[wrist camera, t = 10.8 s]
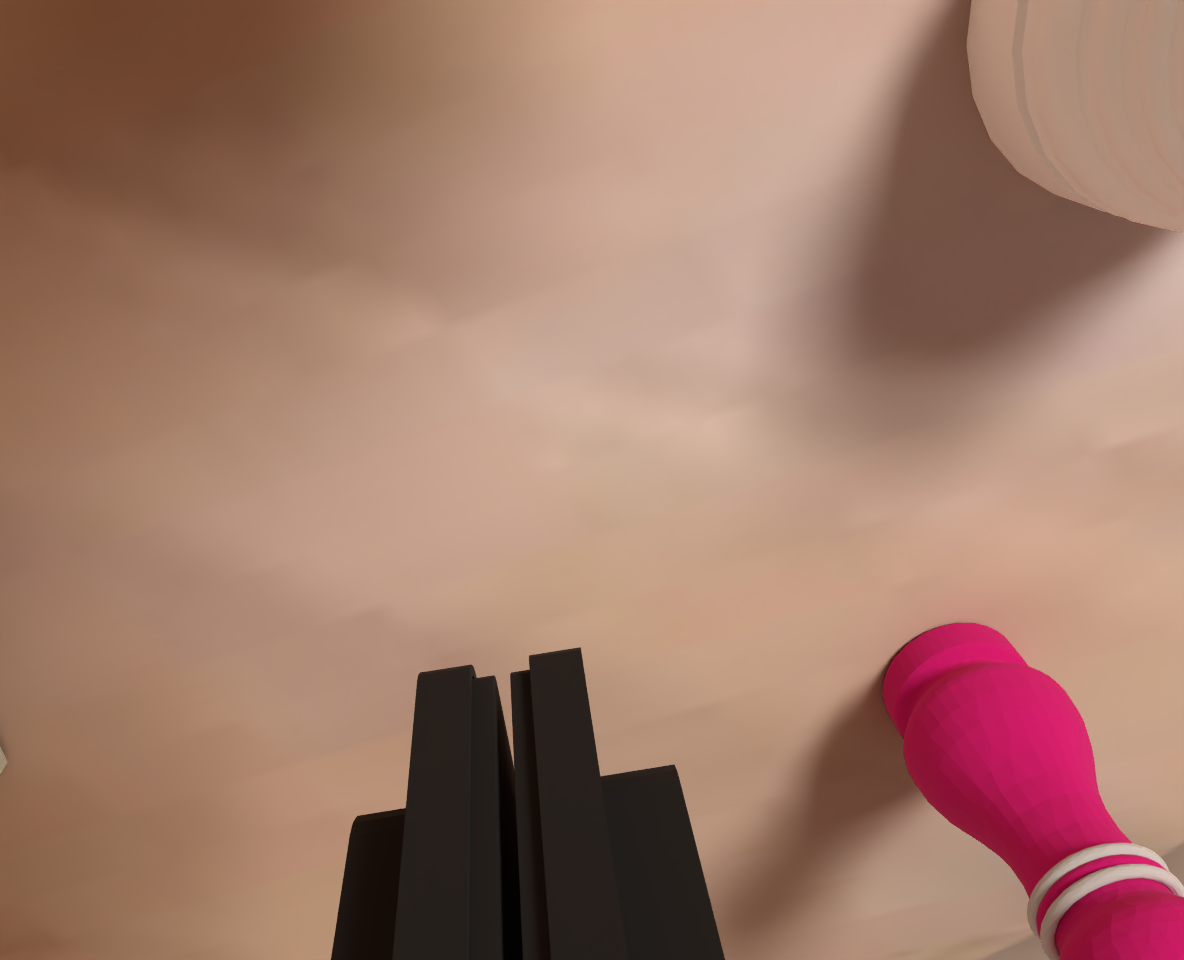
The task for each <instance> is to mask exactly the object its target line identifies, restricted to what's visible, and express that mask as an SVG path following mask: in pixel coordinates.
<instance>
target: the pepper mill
mask: <svg viewBox="0 0 1184 960" xmlns="http://www.w3.org/2000/svg"><path fill="white" fill-rule="evenodd" d="M883 700H884V704H885V707H886V709H887V712H888V714H889V716H890V717H891V719H892V721H893V722H894V724H895V726H896V728H897V729H898V731H899V733H900V735H901V736H902V737H903V739H904V758H905V763H906V766H907V769H908V772H909V774H910V776H911V777H912V779H913V781H914V783H915V784H916V786H917V787H918V788H919V790H920V791H921V792H922V794H923V795H924V797H925V798H926V799H927V801H928V802H929V803H930V804H931V805H932V806H933V807H934V808H935V809H936V810H937V811H938V812H939V813H941V814H942V815H943V816H944V817H945V818H946V819H947V820H948V821H949V822H950V823H952V824H953V825H955V826H956V827H958V828H959V829H961V830H962V831H964V832H966V833H967V834H969V835H970V836H972V837H973V838H975V839H976V840H978V841H980V842H981V843H982V844H984V845H985V846H986V847H988V848H989V849H991V850H992V851H993V852H995V853H996V854H997V855H999V856H1000V857H1001V858H1002V859H1003V860H1004V861H1005V862H1006V863H1007V864H1008V865H1009V866H1010V867H1011V868H1012V870H1013V871H1014V873H1015V874H1016V876H1017V877H1018V879H1019V880H1020V881H1021V883H1022V884H1023V886H1024V888H1025V890H1026V892H1027V894H1028V897H1029V902H1028V908H1027V918H1028V922H1029V925H1030V928H1031V930H1032V931H1033V933H1034V934H1035V936H1036V937H1037V938H1038V939H1039V940H1041V944H1042V947H1043V949H1044V951H1045V953H1046V955H1047V956H1048V957H1049V959H1050V960H1184V887H1183V885H1182V884H1181V883H1180V881H1179V880H1178V879H1177V878H1176V877H1175V876H1174V875H1173V874H1171V873H1169V870H1168V868H1167V866H1166V864H1165V862H1164V861H1163V860H1162V859H1161V857H1160V856H1159V855H1157V854H1156V853H1155V852H1154V851H1152V850H1150V849H1148V848H1145V847H1143V846H1140V845H1137V844H1133V843H1132V842H1131V841H1130V840H1129V839H1128V838H1127V837H1126V836H1125V835H1124V834H1123V833H1122V832H1121V831H1120V829H1119V828H1118V827H1117V825H1116V824H1115V822H1114V821H1113V819H1112V818H1111V816H1110V815H1109V813H1108V812H1107V810H1106V809H1105V806H1104V804H1103V802H1102V799H1101V797H1100V795H1099V791H1098V786H1097V781H1096V773H1095V764H1094V757H1093V751H1092V746H1091V743H1090V740H1089V737H1088V733H1087V730H1086V727H1085V724H1084V721H1083V719H1082V717H1081V715H1080V713H1079V711H1078V710H1077V708H1076V707H1075V705H1074V704H1073V702H1072V701H1071V699H1070V698H1069V696H1068V695H1067V693H1066V692H1065V690H1064V689H1063V688H1062V687H1061V686H1060V685H1059V684H1058V683H1057V682H1056V681H1054V680H1053V679H1052V678H1051V677H1049V676H1048V675H1046V674H1044V673H1043V672H1041V671H1038V670H1036V669H1034V668H1031V667H1029V666H1028V665H1027V664H1026V662H1025V661H1024V660H1023V658H1022V657H1021V656H1020V655H1019V653H1018V652H1017V651H1016V650H1015V648H1014V647H1013V646H1012V645H1011V643H1010V642H1009V641H1008V640H1007V639H1006V638H1005V637H1004V636H1003V635H1002V634H1001V633H999V632H998V631H996V630H994V629H992V628H990V627H987V626H984V625H980V624H976V623H953V624H949V625H944V626H940V627H937V628H935V629H932V630H930V631H927V632H925V633H923V634H922V635H920V636H919V637H917V638H916V639H914V640H912V641H911V642H909V643H908V644H907V645H906V646H905V647H904V648H903V649H902V650H901V651H900V652H899V653H898V655H897V656H896V657H895V658H894V659H893V660H892V662H891V664H890V666H889V668H888V670H887V672H886V675H885V678H884V683H883Z"/></svg>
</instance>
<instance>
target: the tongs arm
mask: <svg viewBox="0 0 1184 960" xmlns="http://www.w3.org/2000/svg"><path fill="white" fill-rule="evenodd" d="M7 763H8V762H7V760H6V758H5V756H4V754H3V752H2V749H1V747H0V774H1V773H2V771H3V769H4V768H5V766H6V764H7Z"/></svg>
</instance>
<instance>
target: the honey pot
mask: <svg viewBox="0 0 1184 960" xmlns="http://www.w3.org/2000/svg"><path fill="white" fill-rule="evenodd" d="M966 47H967V55H968V63H969V71H970V79H971V87H972V95H973V98H974V101H975V103H976V106H977V108H978V110H979V113H980V115H981V118H982V120H983V122H984V125H985V127H986V130H987V132H988V135H989V137H990V139H991V141H992V142H993V143H994V144H995V145H996V147H997V148H998V149H999V150H1000V151H1001V153H1002V154H1003V155H1004V156H1005V157H1006V158H1007V160H1008V161H1009V162H1010V163H1011V164H1012V166H1013V167H1014V168H1015V169H1016V170H1017V172H1018V173H1020V174H1022V175H1023V176H1025V177H1027V178H1028V179H1030V180H1031V181H1033V182H1035V183H1036V184H1038V185H1040V186H1041V187H1043V188H1044V189H1046V190H1048V191H1049V192H1051V193H1053V194H1055V195H1058V196H1061V197H1063V198H1066V199H1069V200H1072V201H1075V202H1078V203H1080V204H1083V205H1086V206H1089V207H1092V208H1094V209H1097V210H1100V211H1103V212H1107V213H1111V214H1112V215H1115V216H1119V217H1123V218H1126V219H1128V220H1129V221H1132V222H1136V223H1140V224H1145V225H1149V226H1153V227H1157V228H1162V229H1166V230H1170V231H1175V232H1184V0H972V1H971V10H970V19H969V27H968V36H967V45H966Z"/></svg>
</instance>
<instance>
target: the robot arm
mask: <svg viewBox="0 0 1184 960" xmlns="http://www.w3.org/2000/svg"><path fill="white" fill-rule="evenodd" d="M529 665H530V670H525V671H519V672H513V673H511V674H510V680H511V702H512V724H513V747H514V766H513V761H512V756H511V751H510V746H509V741H508V736H507V731H506V726H505V721H504V716H503V711H502V706H501V701H500V696H499V691H498V686H497V682H496V678H495V676H487V677H481V678H476V673H475V670H474V667H473V666H472V665H466V666H460V667H453V668H447V669H440V670H434V671H428V672H421V673H420V674H419V675H418V680H417V689H416V701H415V712H414V723H413V734H412V745H411V757H410V768H409V779H408V790H407V802H406V808H404V809H398V810H391V811H385V812H379V813H373V814H367V815H361V816H357V817H356V819H355V820H354V822H353V825H352V829H351V833H350V838H349V845H348V851H347V858H346V864H345V871H344V878H343V884H342V891H341V897H340V904H339V911H338V917H337V924H336V930H335V937H334V943H333V950H332V957H331V960H725V958H724V954H723V950H722V946H721V942H720V938H719V934H718V930H717V926H716V922H715V919H714V915H713V911H712V907H711V903H710V899H709V895H708V891H707V887H706V883H705V879H704V875H703V871H702V867H701V863H700V859H699V855H698V851H697V847H696V843H695V839H694V835H693V831H692V827H691V823H690V819H689V815H688V811H687V807H686V803H685V800H684V796H683V792H682V788H681V784H680V780H679V776H678V773H677V770H676V767H675V765H669V766H662V767H656V768H650V769H644V770H638V771H632V772H625V773H619V774H613V775H607V776H601V777H600V772H599V765H598V758H597V752H596V745H595V739H594V732H593V726H592V719H591V713H590V706H589V700H588V693H587V687H586V680H585V673H584V667H583V660H582V654H581V647H580V648H574V649H568V650H561V651H555V652H548V653H542V654H536V655H529ZM514 769H515V770H514Z"/></svg>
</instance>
